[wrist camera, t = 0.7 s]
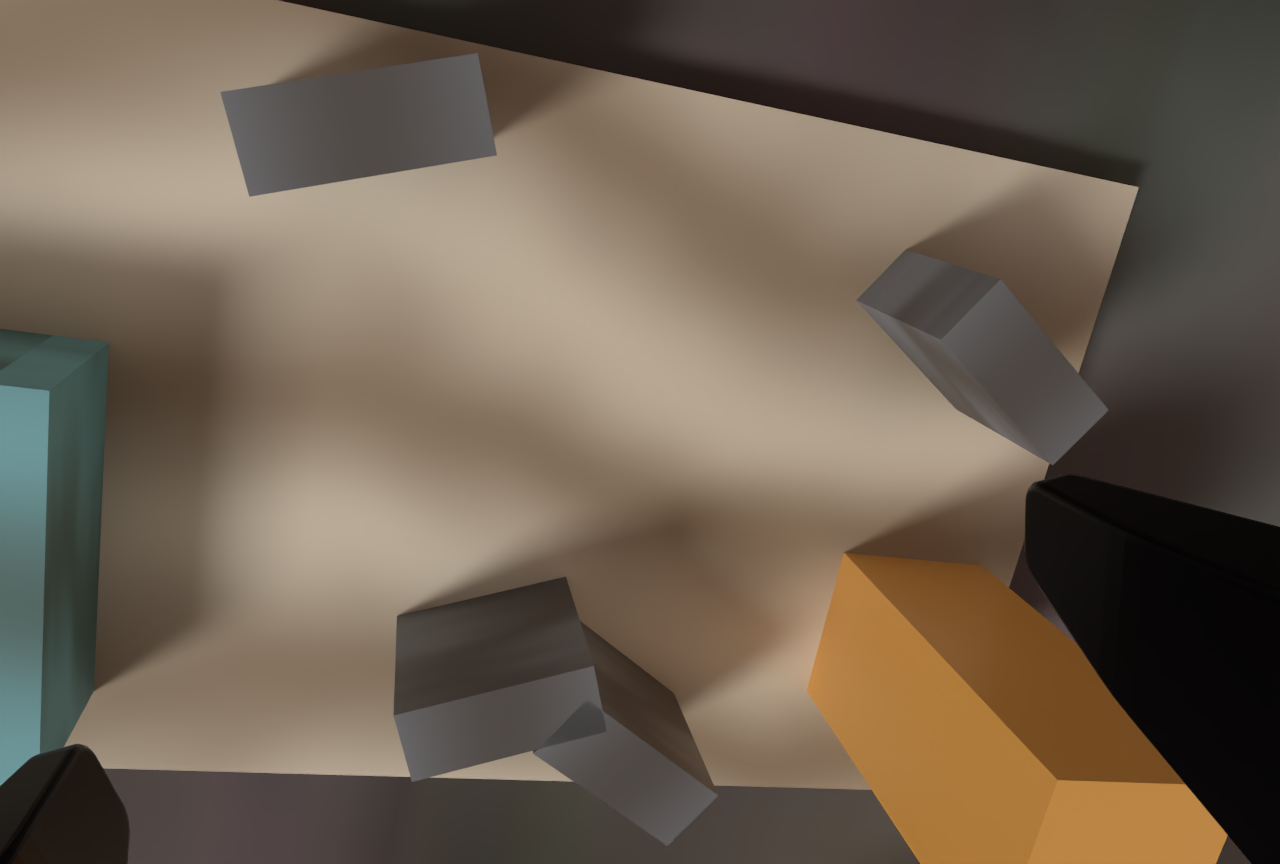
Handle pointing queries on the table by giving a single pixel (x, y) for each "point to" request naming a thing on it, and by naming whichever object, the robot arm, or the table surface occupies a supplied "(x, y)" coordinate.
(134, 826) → the table surface
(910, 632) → the plug block
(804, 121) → the board
